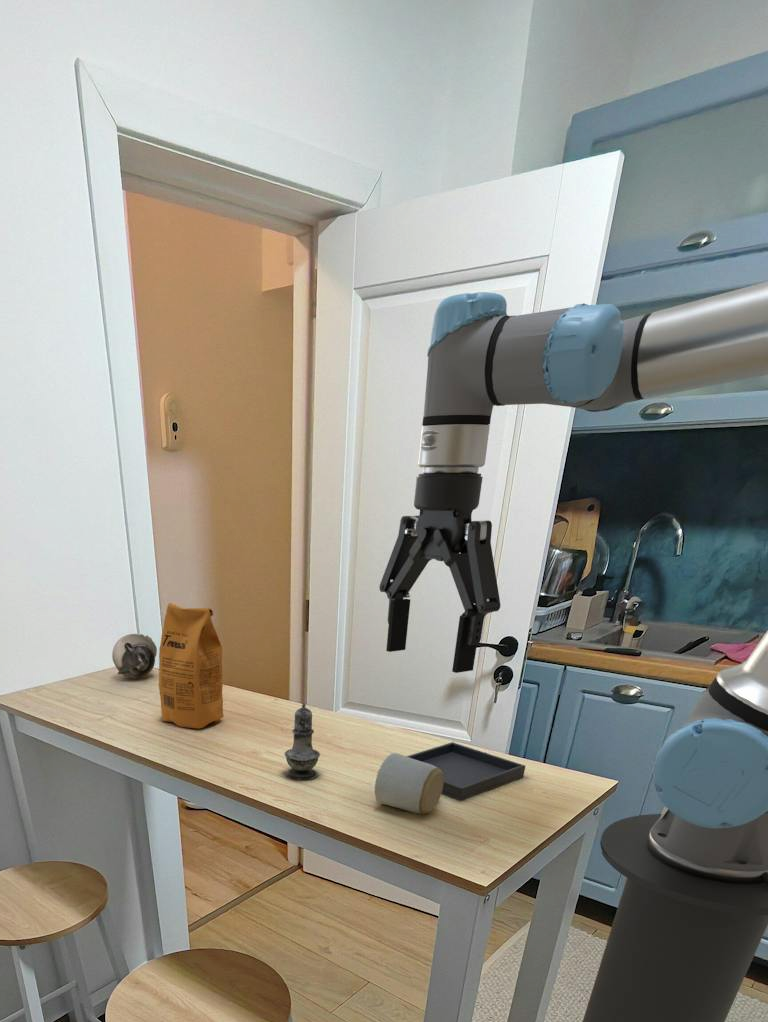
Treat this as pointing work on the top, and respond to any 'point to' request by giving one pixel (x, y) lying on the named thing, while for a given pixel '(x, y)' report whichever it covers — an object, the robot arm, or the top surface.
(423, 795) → the ceramic mug
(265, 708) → the top surface
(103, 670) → the top surface
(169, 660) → the coffee package
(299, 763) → the dark chess piece
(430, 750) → the tray
